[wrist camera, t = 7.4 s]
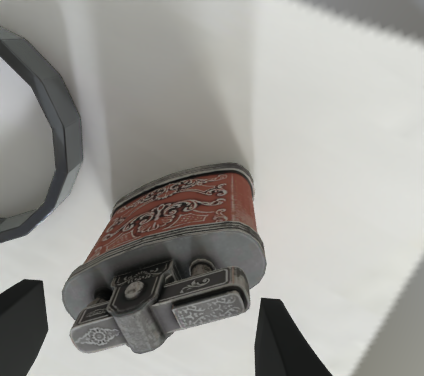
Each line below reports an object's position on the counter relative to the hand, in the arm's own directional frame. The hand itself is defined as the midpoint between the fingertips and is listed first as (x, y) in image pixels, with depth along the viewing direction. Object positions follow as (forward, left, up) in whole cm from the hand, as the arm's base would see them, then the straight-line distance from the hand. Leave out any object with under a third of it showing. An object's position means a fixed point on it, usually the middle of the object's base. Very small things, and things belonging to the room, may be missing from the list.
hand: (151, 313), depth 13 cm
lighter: (0, 0, -10) cm, 10 cm away
